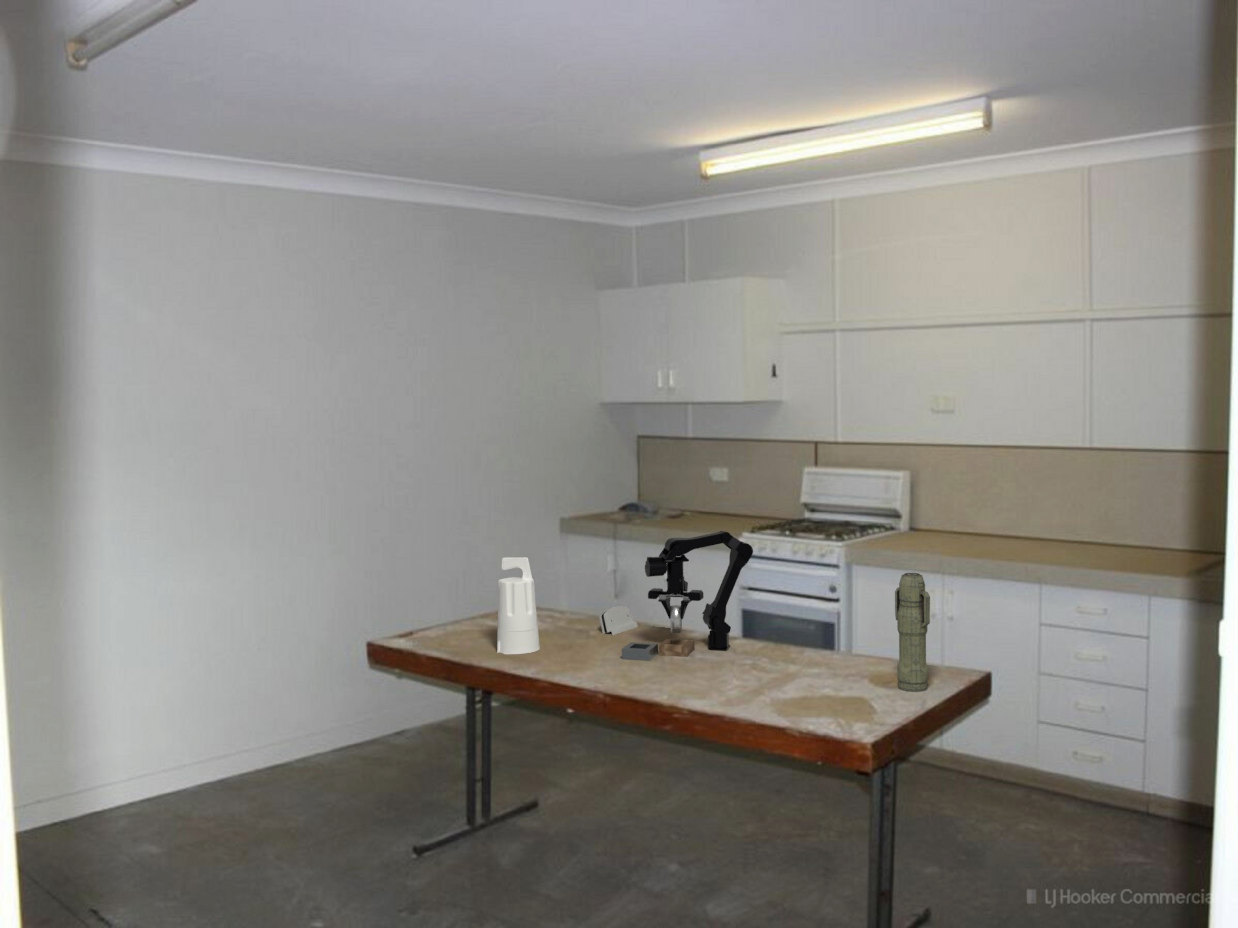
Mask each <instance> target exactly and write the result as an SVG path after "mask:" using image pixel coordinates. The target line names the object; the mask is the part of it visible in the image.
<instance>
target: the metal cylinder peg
mask: <svg viewBox="0 0 1238 928" xmlns="http://www.w3.org/2000/svg"><path fill="white" fill-rule="evenodd" d="M669 621H670V633H673V634H680V633H683V619H681V604H680V605H679V604H675V605H670V620H669Z"/></svg>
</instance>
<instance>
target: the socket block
mask: <svg viewBox="0 0 1238 928" xmlns="http://www.w3.org/2000/svg"><path fill="white" fill-rule="evenodd" d="M695 644H696V643H695V639H681V638H666V639H665V640H663V641H662V642H661V643H660V644H658V655H659V656H670V657H683V658H685V657H688V656H690V655H691V654H692V653H693V652H694V651H695V649H696V648H695V647H696V646H695Z"/></svg>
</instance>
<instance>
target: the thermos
mask: <svg viewBox="0 0 1238 928" xmlns="http://www.w3.org/2000/svg"><path fill="white" fill-rule="evenodd" d="M898 585H899V586H898V587H896V590H895V591H894V615H895V621H897V631H898V645H899V647H898V648H899V649H898V658H899V660H898V663H897V680H898V685H897V687H898V689H899V690H901V691H905V692H912V693H913V692H914V693H916V692H918V693H919V692H920V693H921V692H924V691H928V680H929V667H928V666H929V665H928V664H927V633H928V625H929V624H931V618H930V613H931V612H930V611H931V609H930V608H931V595H930V594H929V592H928V591H926V583H925V579H924V577H923V574H920V573H918V572H905V573H904V574H901V577H900V580H899V584H898Z"/></svg>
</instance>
